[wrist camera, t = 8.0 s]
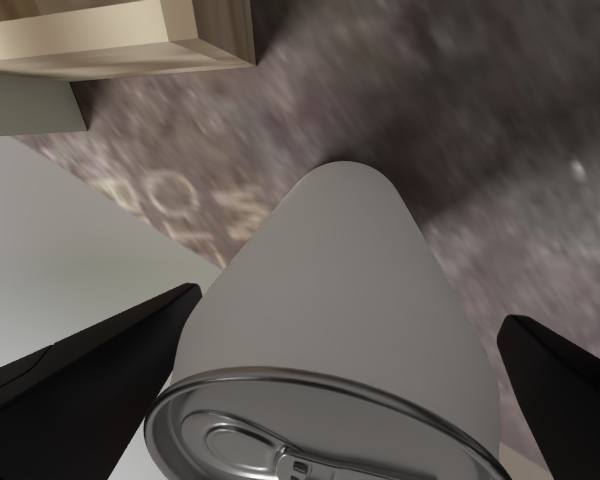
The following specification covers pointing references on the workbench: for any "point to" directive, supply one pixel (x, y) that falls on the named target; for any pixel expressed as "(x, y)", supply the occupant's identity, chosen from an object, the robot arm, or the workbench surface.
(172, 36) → the wooden drawer box
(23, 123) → the panel
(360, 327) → the can
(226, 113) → the workbench surface
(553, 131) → the workbench surface
